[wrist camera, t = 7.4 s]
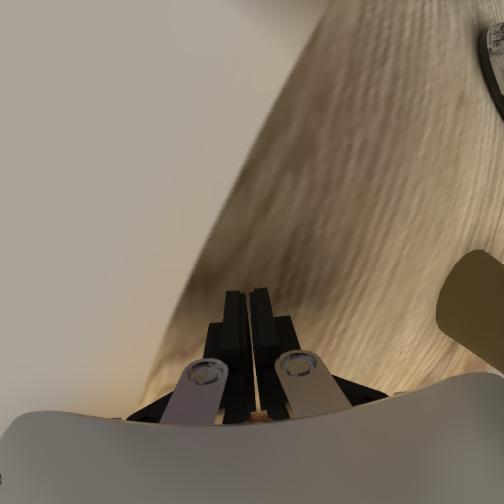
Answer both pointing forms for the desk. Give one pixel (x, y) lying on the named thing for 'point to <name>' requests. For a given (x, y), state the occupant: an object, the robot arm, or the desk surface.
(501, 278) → the olive pawn
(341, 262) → the desk surface
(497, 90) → the ink bottle
